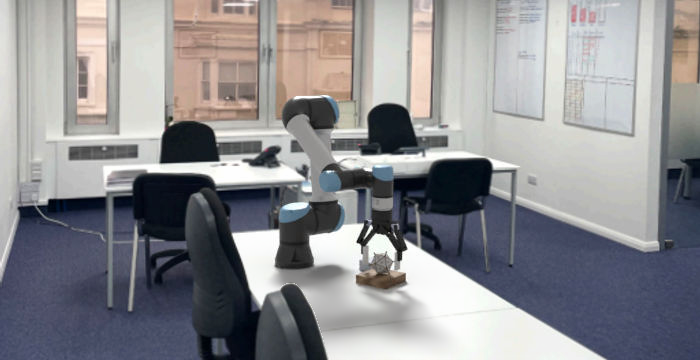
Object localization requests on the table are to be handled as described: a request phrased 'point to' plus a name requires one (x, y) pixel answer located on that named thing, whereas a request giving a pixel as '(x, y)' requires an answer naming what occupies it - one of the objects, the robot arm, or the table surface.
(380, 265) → the game die
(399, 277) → the plinth
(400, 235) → the robot arm
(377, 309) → the table surface
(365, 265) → the card box
